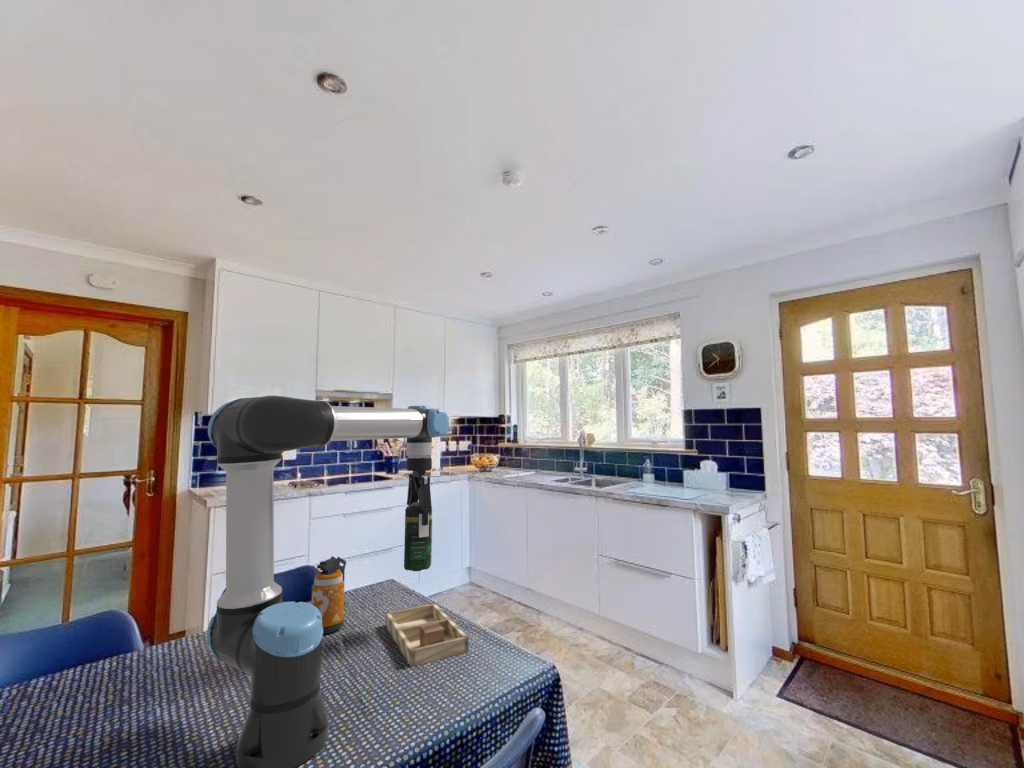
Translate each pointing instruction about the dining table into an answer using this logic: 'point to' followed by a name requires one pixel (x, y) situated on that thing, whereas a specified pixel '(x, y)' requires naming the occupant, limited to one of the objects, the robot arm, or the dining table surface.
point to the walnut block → (431, 634)
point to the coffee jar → (416, 541)
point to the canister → (330, 593)
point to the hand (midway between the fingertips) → (418, 533)
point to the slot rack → (407, 634)
